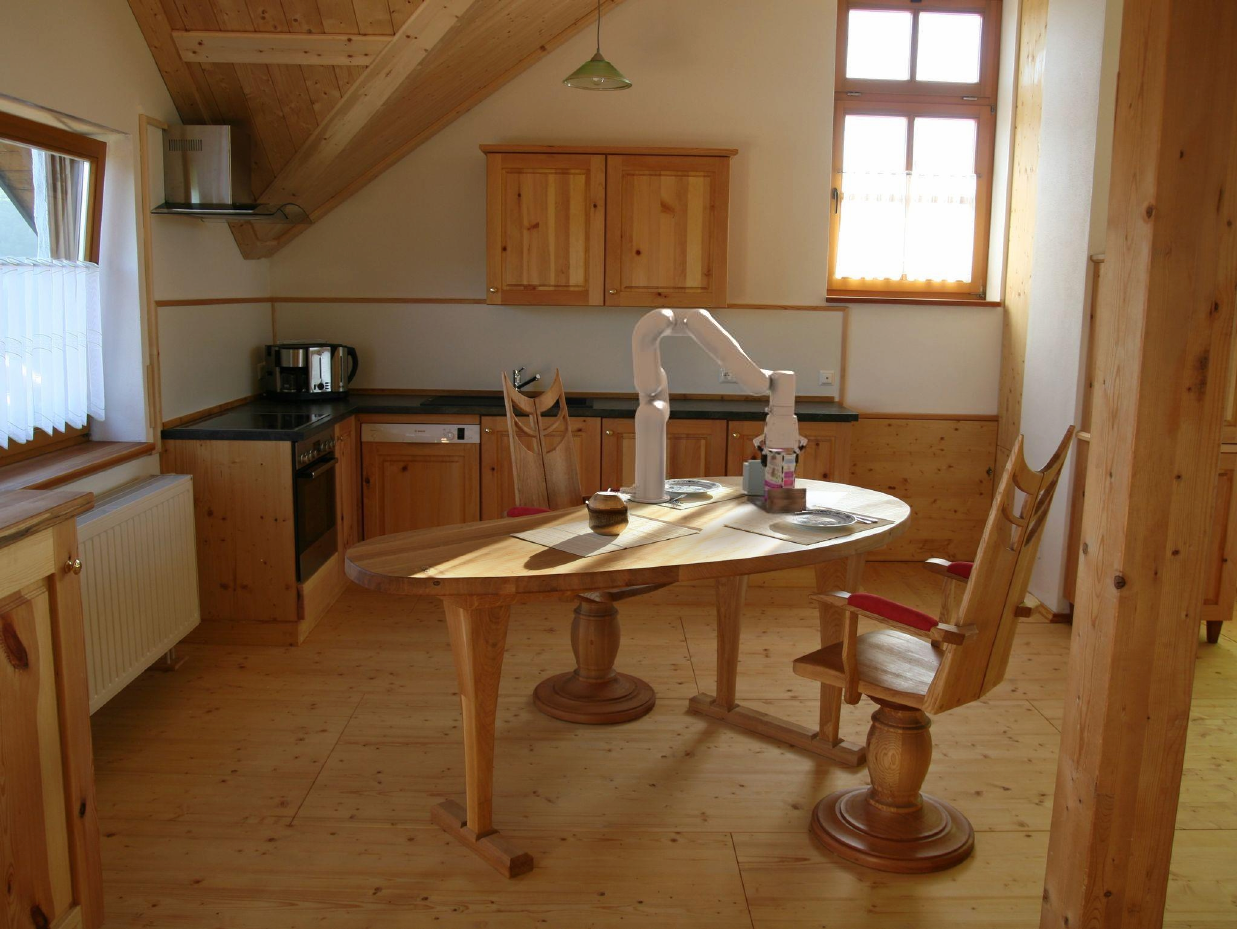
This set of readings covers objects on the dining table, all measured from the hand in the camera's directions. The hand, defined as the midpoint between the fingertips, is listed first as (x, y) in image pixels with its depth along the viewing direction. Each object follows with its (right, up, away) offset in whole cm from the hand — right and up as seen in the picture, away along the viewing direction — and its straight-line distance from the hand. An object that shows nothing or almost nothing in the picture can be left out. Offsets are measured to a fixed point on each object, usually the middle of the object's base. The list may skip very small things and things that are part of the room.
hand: (779, 466), depth 332 cm
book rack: (0, -12, +3) cm, 12 cm away
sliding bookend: (-3, -8, +18) cm, 20 cm away
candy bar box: (0, -12, +2) cm, 12 cm away
